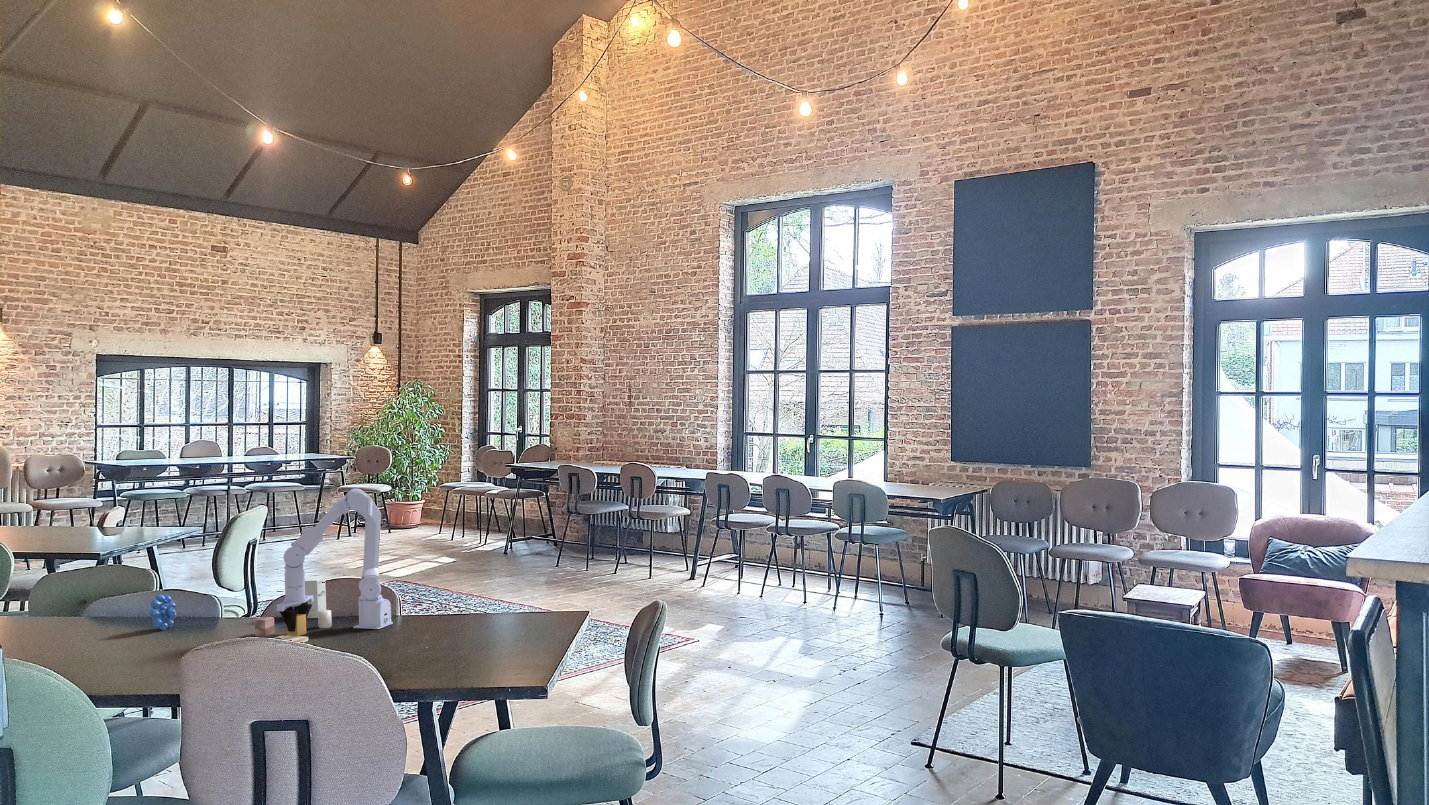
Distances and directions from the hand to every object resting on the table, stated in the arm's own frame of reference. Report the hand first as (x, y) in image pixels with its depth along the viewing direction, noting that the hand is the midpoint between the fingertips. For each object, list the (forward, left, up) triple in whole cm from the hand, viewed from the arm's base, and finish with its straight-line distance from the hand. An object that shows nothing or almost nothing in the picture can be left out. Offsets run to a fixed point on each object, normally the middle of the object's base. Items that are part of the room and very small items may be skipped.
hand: (296, 629), depth 316 cm
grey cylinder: (-2, -11, -2) cm, 11 cm away
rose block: (+11, +1, -2) cm, 11 cm away
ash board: (-4, +11, -2) cm, 12 cm away
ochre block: (0, 0, -2) cm, 2 cm away
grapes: (+48, +2, -2) cm, 48 cm away
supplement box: (+13, -24, -2) cm, 27 cm away
